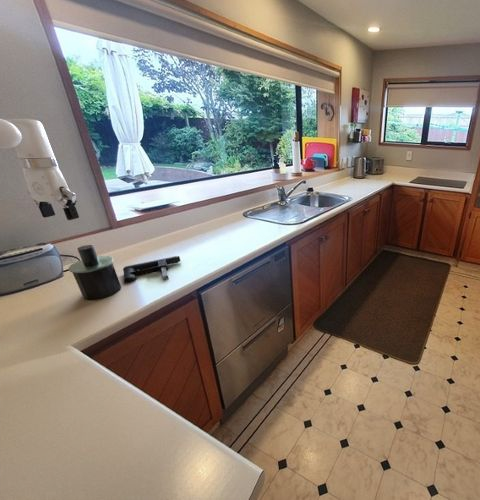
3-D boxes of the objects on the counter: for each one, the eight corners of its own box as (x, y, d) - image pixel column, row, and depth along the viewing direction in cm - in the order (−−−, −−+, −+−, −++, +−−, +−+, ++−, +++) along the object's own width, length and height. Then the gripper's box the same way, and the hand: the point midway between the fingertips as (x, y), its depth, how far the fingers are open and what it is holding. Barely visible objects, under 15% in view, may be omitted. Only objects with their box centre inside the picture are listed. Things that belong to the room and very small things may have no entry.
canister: (80, 304, 94) (66, 275, 89) (88, 289, 102) (76, 261, 97) (118, 297, 99) (107, 268, 94) (123, 283, 107) (114, 256, 102)
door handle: (184, 269, 113) (178, 253, 124) (122, 284, 102) (122, 264, 113) (185, 276, 114) (180, 259, 126) (124, 291, 103) (124, 271, 115)
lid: (64, 277, 89) (55, 257, 86) (75, 262, 98) (67, 243, 95) (110, 270, 94) (103, 250, 91) (117, 256, 103) (110, 238, 100)
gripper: (1, 163, 83) (26, 218, 90) (48, 166, 80) (70, 223, 87) (32, 160, 90) (53, 212, 97) (76, 163, 87) (94, 216, 94)
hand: (61, 217), depth 92 cm, fingers open, 9 cm apart
